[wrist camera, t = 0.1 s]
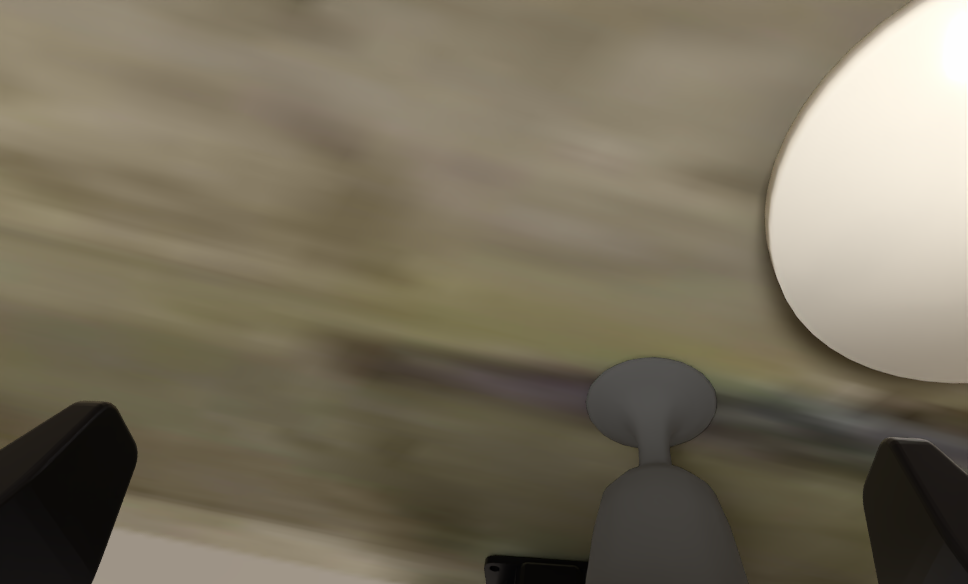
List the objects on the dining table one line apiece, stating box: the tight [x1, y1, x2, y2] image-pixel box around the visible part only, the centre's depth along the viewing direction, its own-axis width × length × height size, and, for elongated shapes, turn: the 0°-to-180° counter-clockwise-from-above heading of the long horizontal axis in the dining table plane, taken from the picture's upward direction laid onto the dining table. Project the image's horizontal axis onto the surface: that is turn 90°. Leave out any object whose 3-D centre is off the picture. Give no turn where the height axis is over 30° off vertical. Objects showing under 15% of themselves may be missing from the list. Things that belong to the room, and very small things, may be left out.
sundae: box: [585, 357, 749, 584], centre depth 22 cm, size 7×7×15 cm
